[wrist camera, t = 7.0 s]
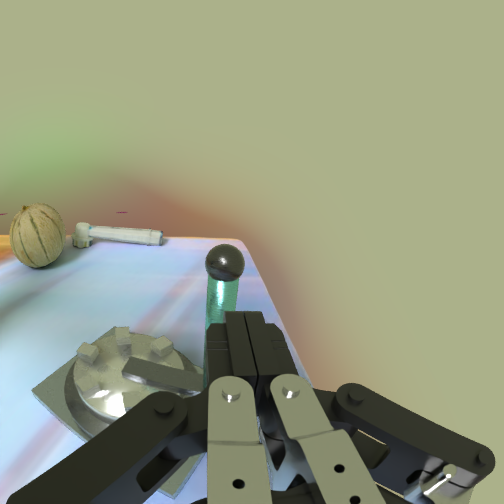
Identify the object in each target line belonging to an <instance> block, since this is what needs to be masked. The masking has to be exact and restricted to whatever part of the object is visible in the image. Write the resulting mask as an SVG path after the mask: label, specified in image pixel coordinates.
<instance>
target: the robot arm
mask: <svg viewBox="0 0 504 504" xmlns="http://www.w3.org/2000/svg"><path fill="white" fill-rule="evenodd" d="M205 365H206V383H207V387H206V388H205V389H204V390H203V391H202V392H201V393H199V394H197V395H195V396H191V397H187V398H182V397H180V396H179V395H177V394H175V393H173V392H169V391H158V392H154V393H151V394H149V395H148V396H146V397H145V398H144V399H143V400H141V401H140V402H139V403H138V404H136V405H135V406H134V407H133V408H131V409H130V410H129V411H127V412H126V413H125V414H124V415H122V416H121V417H120V418H118V419H117V420H116V421H114V422H113V423H112V424H111V425H109V426H108V427H107V428H105V429H104V430H103V431H101V432H100V433H99V434H97V435H96V436H95V437H93V438H92V439H91V440H89V441H88V442H87V443H85V444H84V445H82V446H81V447H80V448H78V449H77V450H76V451H74V452H73V453H71V454H70V455H69V456H67V457H66V458H64V459H63V460H62V461H60V462H59V463H57V464H56V465H55V466H53V467H52V468H50V469H49V470H47V471H46V472H45V473H43V474H42V475H40V476H39V477H37V478H36V479H34V480H33V481H31V482H30V483H28V484H27V485H25V486H24V487H22V488H21V489H19V490H18V491H16V492H15V493H13V494H12V495H11V496H10V497H9V498H8V500H7V503H6V504H143V503H144V502H145V501H146V500H147V499H148V498H149V497H150V496H151V495H152V494H153V493H154V492H156V491H157V490H158V489H159V488H160V487H161V486H162V485H163V484H164V483H165V482H166V481H167V480H168V479H169V478H170V477H171V476H172V475H173V474H174V473H175V472H176V471H177V470H178V469H179V468H180V467H181V466H182V465H183V464H184V463H185V462H186V461H187V460H188V458H189V457H191V456H194V455H198V454H201V453H205V452H207V498H203V499H200V500H198V501H195V502H193V503H191V504H468V503H469V500H470V497H471V494H472V491H473V488H474V486H475V485H476V484H477V483H479V482H480V481H481V480H483V479H484V478H485V477H486V476H487V475H489V474H490V473H491V472H492V471H493V469H494V467H495V457H494V454H493V453H492V451H491V450H490V449H489V448H488V447H486V446H484V445H482V444H480V443H477V442H475V441H473V440H470V439H468V438H466V437H464V436H461V435H459V434H457V433H455V432H453V431H451V430H449V429H446V428H444V427H442V426H440V425H438V424H436V423H434V422H432V421H430V420H427V419H426V418H424V417H422V416H420V415H418V414H416V413H414V412H412V411H410V410H408V409H406V408H404V407H402V406H400V405H398V404H396V403H394V402H392V401H390V400H388V399H386V398H385V397H383V396H381V395H379V394H377V393H375V392H374V391H372V390H370V389H368V388H366V387H364V386H362V385H360V384H356V383H348V384H344V385H342V386H341V387H339V389H338V390H337V392H331V391H323V390H318V389H314V388H312V387H311V385H310V384H309V382H308V381H307V380H305V379H304V378H302V377H300V376H299V375H298V372H297V369H296V367H295V364H294V362H293V359H292V356H291V354H290V351H289V349H288V346H287V343H286V342H285V338H284V335H283V333H282V331H281V330H280V329H279V328H278V327H277V326H276V325H275V324H274V323H272V324H266V323H265V320H264V317H263V314H262V312H261V311H243V312H242V311H224V313H223V323H211V324H210V326H209V327H208V329H207V331H206V349H205ZM256 416H259V419H260V427H259V434H258V426H257V417H256ZM358 429H359V430H361V431H363V432H365V433H366V434H368V435H370V436H372V437H374V438H375V439H377V440H379V441H381V442H383V443H385V444H386V445H384V444H381V443H379V442H377V441H376V440H374V439H372V438H370V437H368V436H366V435H365V434H363V433H361V432H359V431H358ZM259 436H260V439H261V442H262V443H260V440H259ZM266 458H267V461H268V464H269V467H270V470H271V473H272V487H273V490H270V483H269V476H268V469H267V461H266ZM374 481H375V482H377V483H379V484H381V485H383V486H385V487H387V488H389V489H391V490H393V491H395V492H397V493H399V494H401V495H403V496H404V499H403V498H401V497H399V496H398V495H396V494H394V493H392V492H390V491H388V490H386V489H384V488H383V487H381V486H379V485H377V484H375V482H374Z"/></svg>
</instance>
